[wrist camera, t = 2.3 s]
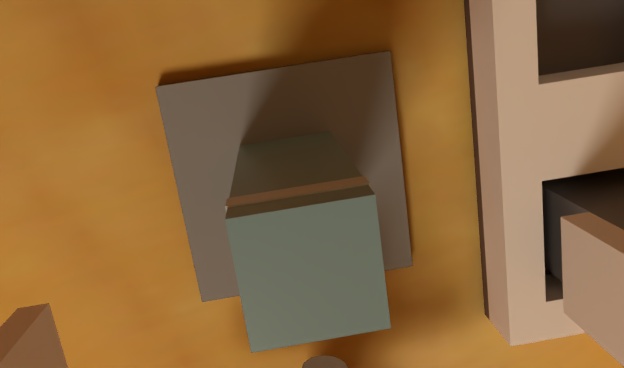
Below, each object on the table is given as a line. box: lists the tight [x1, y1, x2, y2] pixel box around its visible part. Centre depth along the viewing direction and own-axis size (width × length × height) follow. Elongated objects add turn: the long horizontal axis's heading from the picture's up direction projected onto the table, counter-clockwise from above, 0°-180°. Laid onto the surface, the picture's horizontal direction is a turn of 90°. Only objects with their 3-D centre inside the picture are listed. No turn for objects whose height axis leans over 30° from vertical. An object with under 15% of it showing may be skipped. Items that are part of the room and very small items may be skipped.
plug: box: [225, 131, 391, 353], centre depth 20 cm, size 4×4×10 cm
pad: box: [155, 51, 413, 302], centre depth 25 cm, size 10×10×1 cm
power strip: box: [464, 0, 624, 346], centre depth 24 cm, size 19×9×4 cm, turn 8°
